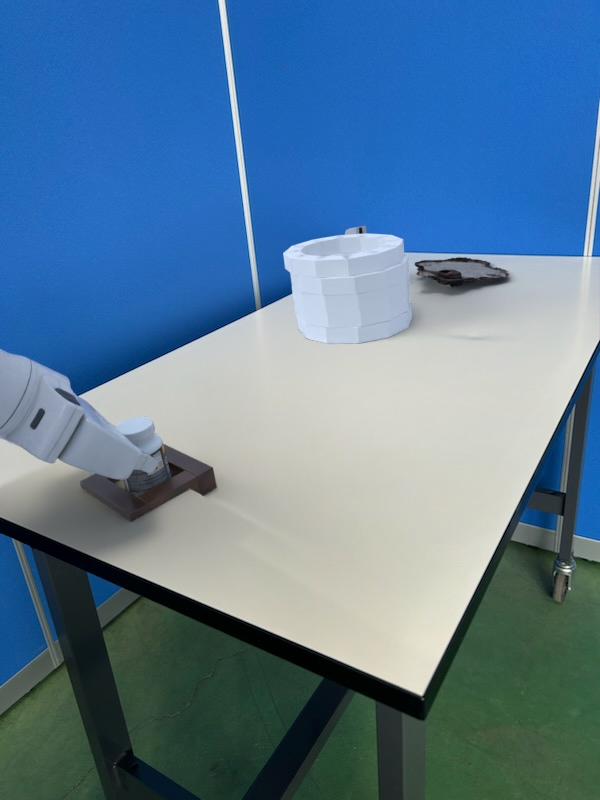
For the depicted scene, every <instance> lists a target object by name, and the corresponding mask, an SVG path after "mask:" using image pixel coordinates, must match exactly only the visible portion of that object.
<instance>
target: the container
mask: <svg viewBox="0 0 600 800" xmlns="http://www.w3.org/2000/svg"><path fill="white" fill-rule="evenodd" d="M404 241H405V240H404V238H401V237H398V236H395V235H393V234H384V233H383V234H382V233H367V232H366V234H351V235H345V234H338V235H331V236H326V237H320V238H314V239H310V240H307V241H303V242H300V243H296V244H293V245H291V246H290V247H288V249H286V250H285V251H284V252H283V253H282V254H283V261H284V263H283V264H284V269H285V270H286V271H287V272H289V275H290V282H291V292H292V300H293V307H294V316H295V317H296V324H297V330H298V331H299V333H301V334H302V336H303V337H304V338H305V339H306V340H311V341H315V342H319V343H323V344H327V345H347V344H354V345H355V344H357V345H358V344H364V343H368V342H374V341H378V340H384V339H388V338H391V337H392V336H393V337H394V336H395V335H397V334H399V333H402V332H403V331H405V330H407V329H409V327H410V325H411V322H412V319H413V310H412V309H413V308H412V302H410V301H411V300H410V278H409V277H410V276H409V275H410V262H409V255H406V254H405V246H404V245H405V243H404Z"/></svg>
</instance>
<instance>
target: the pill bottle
mask: <svg viewBox="0 0 600 800" xmlns="http://www.w3.org/2000/svg"><path fill="white" fill-rule="evenodd" d="M115 426H116V427H115V428H116V429H118V430H119V431H120V432H121V433H122V434H123V435H124V436H125V437H126V438H127V439H128V440H130V441H131V442H132V443H133V444H134V445H135V446H136V447H137V448H138V449H140V450H141V452H145V453H147V454H149V455H152V456H153V457H154V458H155V459H157V460H158V465H157V467H156V469H155V470H154V472H153V473H147V472H144V471H142V470H133V472H132V473H131V475H130V476H129V478H127V479H123V483H124V486H125V490H126V491H128V492H129V493H131V494H133V495H141V494H143V493H145V492H147V491H148V490H150V489H152V488H154V487H156V486H158V485H159V484H161V483H163V482H165V481H167V480H168V479H170V478H172V477H171V473H170V469H169V465H168V462H167V457H166V453H165V450H164V445H163V444H164V441H163V439H162V437H161V436H160V435H159V434H158V433H156V426H155V423H154V420H153V419H152V418H151V417H148V416H135V417H130V418H128V419H125V420H122V421H120V422H119V423H117V424H116V425H115Z"/></svg>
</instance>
